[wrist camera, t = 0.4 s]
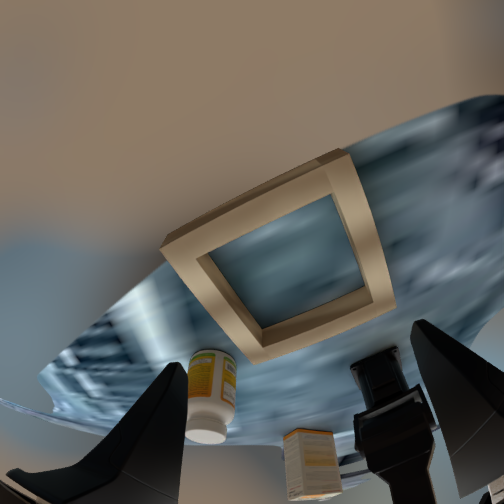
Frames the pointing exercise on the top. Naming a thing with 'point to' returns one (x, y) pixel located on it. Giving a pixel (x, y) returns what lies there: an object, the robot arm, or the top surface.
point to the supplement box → (311, 465)
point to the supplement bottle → (210, 396)
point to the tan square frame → (262, 212)
